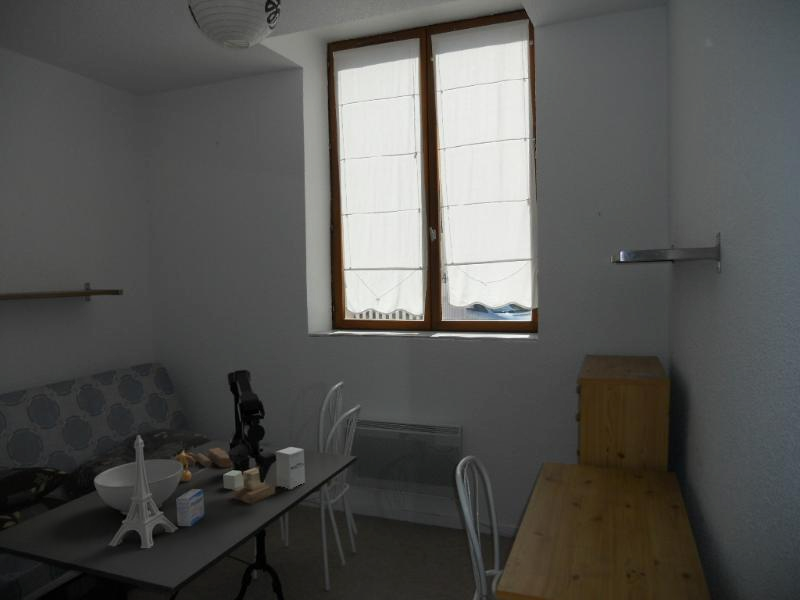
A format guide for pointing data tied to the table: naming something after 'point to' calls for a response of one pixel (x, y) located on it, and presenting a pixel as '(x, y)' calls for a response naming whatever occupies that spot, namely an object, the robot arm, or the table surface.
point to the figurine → (186, 474)
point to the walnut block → (253, 493)
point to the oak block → (252, 479)
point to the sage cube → (233, 479)
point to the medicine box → (190, 507)
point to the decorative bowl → (121, 482)
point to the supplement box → (290, 467)
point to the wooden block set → (210, 458)
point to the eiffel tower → (142, 507)
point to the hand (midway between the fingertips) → (253, 480)
